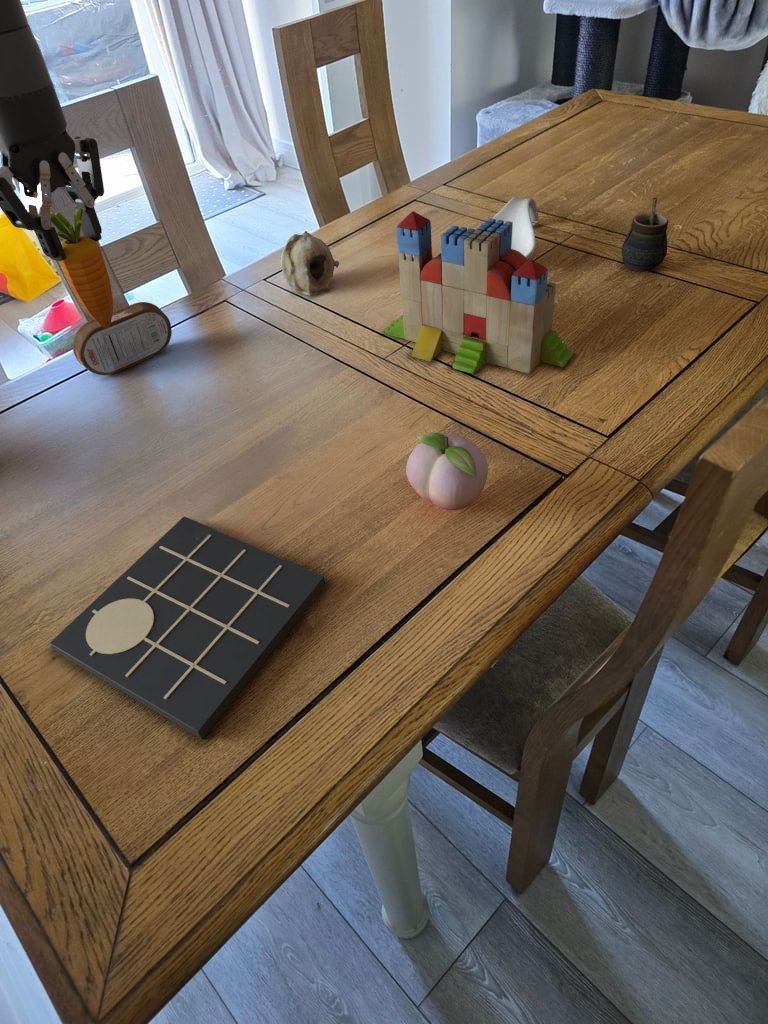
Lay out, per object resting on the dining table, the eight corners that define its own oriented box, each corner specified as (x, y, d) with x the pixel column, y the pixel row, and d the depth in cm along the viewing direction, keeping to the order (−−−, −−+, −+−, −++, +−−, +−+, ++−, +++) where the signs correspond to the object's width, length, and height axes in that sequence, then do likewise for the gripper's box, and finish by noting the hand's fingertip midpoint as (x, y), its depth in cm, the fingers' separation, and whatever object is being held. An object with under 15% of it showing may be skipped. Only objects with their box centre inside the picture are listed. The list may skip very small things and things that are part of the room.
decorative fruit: (502, 500, 81) (507, 432, 74) (459, 541, 77) (460, 474, 70) (439, 468, 86) (438, 402, 79) (396, 505, 82) (390, 438, 75)
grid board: (55, 651, 71) (48, 642, 69) (187, 524, 82) (183, 515, 81) (202, 739, 62) (197, 731, 61) (326, 585, 74) (324, 575, 73)
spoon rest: (524, 285, 117) (527, 243, 112) (457, 277, 121) (457, 237, 115) (555, 227, 132) (559, 188, 127) (495, 221, 136) (496, 183, 130)
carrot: (124, 314, 91) (82, 196, 80) (129, 332, 88) (85, 211, 77) (86, 323, 90) (37, 205, 79) (89, 341, 86) (39, 221, 76)
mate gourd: (620, 276, 117) (630, 216, 110) (617, 255, 122) (627, 197, 115) (665, 276, 115) (678, 216, 108) (661, 256, 120) (673, 196, 113)
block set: (581, 345, 103) (600, 214, 89) (541, 395, 95) (555, 259, 81) (419, 304, 115) (414, 183, 101) (371, 345, 107) (359, 220, 94)
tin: (171, 340, 113) (155, 292, 107) (180, 347, 111) (165, 298, 105) (84, 378, 107) (62, 329, 101) (92, 386, 105) (70, 337, 99)
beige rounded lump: (291, 306, 123) (261, 258, 116) (308, 276, 127) (280, 228, 120) (334, 297, 118) (306, 246, 111) (351, 266, 122) (324, 216, 116)
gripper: (43, 63, 75) (99, 221, 87) (-75, 101, 67) (5, 270, 79) (91, 67, 72) (143, 230, 84) (-26, 107, 64) (50, 282, 76)
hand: (76, 248), depth 81 cm, fingers closed on carrot, 5 cm apart
